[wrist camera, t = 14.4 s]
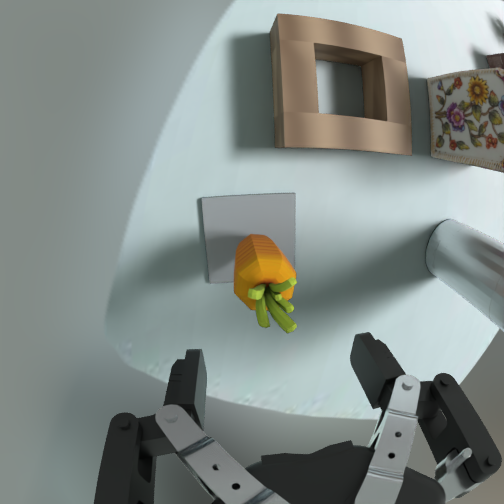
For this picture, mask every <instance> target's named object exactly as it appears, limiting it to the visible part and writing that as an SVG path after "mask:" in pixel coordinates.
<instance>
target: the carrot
mask: <svg viewBox="0 0 504 504" xmlns="http://www.w3.org/2000/svg"><path fill="white" fill-rule="evenodd" d="M296 283H297V281H296V272H295V270H294V268H293V267H292V265H291V264H290V262H289V261H288V259H287V258H286V257H285V255H284V254H283V253H282V251H281V250H280V249H279V248H278V247H277V245H276V244H275V243H274V242H273V240H271V239H270V238H269V237H267V236H265V235H258V234H250V235H248V236H247V237H246V238H245V239H243V240H242V241H241V242H240V243H239V245H238V247H237V249H236V255H235V265H234V293H235V294H236V295H237V296H238V297H239V298H240V299H241V300H242V301H243V302H244V303H245V304H246V305H247V306H248V307H249V308H250V309H251V310H256V315H257V320H258V323H259V325H260V326H261V327H265V328H267V327H270V324H269V319H268V315H267V311H269V312H270V314H271V316H272V317H273V319H274V320H275V321H276V322H277V323H278V325H279V326H280V327H281V328H282V329H283V330H284V331H285V332H286V333H290V332H292V331H294V330H295V329H296V327H297V325H296V323H295V322H294V321H293V320H292V319H291V318H290V317H289V316H288V315H287V314H286V313H291V312H292V311H293V310H294V307H293V305H292V304H291V303H289V302H288V300H289V299H291V298H292V295H293V290H294V285H295V284H296ZM280 308H282V309H283V310H284V311H285V312H286V313H285V312H284V311H283V310H282V309H280Z"/></svg>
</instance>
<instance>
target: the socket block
mask: <svg viewBox="0 0 504 504" xmlns="http://www.w3.org/2000/svg"><path fill="white" fill-rule="evenodd" d="M270 46H271V62H272V81H273V103H274V128H275V148H326V149H345V150H359V151H371V152H381V153H391V154H401V155H410V156H412V127H411V106H410V93H409V83H408V74H407V67H406V60H405V53H404V47H403V42H402V39H401V38H398V37H395V36H392V35H389V34H386V33H383V32H379V31H376V30H372V29H369V28H365V27H361V26H357V25H352V24H348V23H343V22H338V21H333V20H328V19H322V18H315V17H308V16H299V15H290V14H277V16H276V18H275V21H274V23H273V26H272V28H271V31H270ZM315 59H317V60H325V61H332V62H339V63H345V64H350V65H356V66H361V72H362V83H363V96H364V114H365V118H360V117H352V116H343V115H333V114H320V113H319V110H318V91H317V76H316V63H315Z"/></svg>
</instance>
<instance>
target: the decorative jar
mask: <svg viewBox="0 0 504 504" xmlns="http://www.w3.org/2000/svg"><path fill="white" fill-rule="evenodd" d="M427 85H428V94H429V107H430V128H431V156H432V157H434V158H439V159H443V160H448V161H453V162H458V163H464V164H468V165H472V166H477V167H481V168H485V169H490V170H494V171H499V172H503V173H504V70H503V69H502V68H500V67H499V68H490V69H476V70H469V71H461V72H455V73H449V74H444V75H440V76H436V77H431V78H428V79H427Z"/></svg>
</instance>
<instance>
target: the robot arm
mask: <svg viewBox="0 0 504 504" xmlns="http://www.w3.org/2000/svg"><path fill="white" fill-rule="evenodd" d="M426 264H427V267H428V269H429V271H430V272H431V273H432V274H433V275H435V276H436V277H437V278H439V279H440V280H441V281H443V282H444V283H445V284H446V285H448V286H449V287H450V288H452V289H453V290H454V291H456V292H457V293H458V294H459V295H461V296H462V297H463V298H464V299H466V300H467V301H468V302H469V303H471V304H472V305H473V306H474V307H476V308H477V309H478V310H479V311H480V312H482V313H483V314H484V315H485V316H486V317H487V318H489V319H490V320H491V321H492V322H493V323H495V324H496V325H497V326H498V327H499V328H500V329H501V330H502V331H504V243H502V242H500V241H498V240H496V239H494V238H492V237H490V236H488V235H486V234H484V233H482V232H480V231H478V230H475V229H473V228H471V227H469V226H467V225H465V224H463V223H460V222H458V221H456V220H452V219H449V220H446V221H444V222H442V223H441V224H440V225H439V226H438V227H437V228H436V229H435V231H434V232H433V234H432V236H431V237H430V240H429V242H428V246H427V250H426ZM350 361H351V365H352V368H353V370H354V372H355V374H356V376H357V378H358V380H359V382H360V384H361V386H362V388H363V390H364V392H365V394H366V396H367V398H368V400H369V402H370V404H371V406H372V408H373V409H375V408H379V407H380V408H381V410H382V411H381V413H380V416H379V419H378V422H377V425H376V427H375V430H374V433H373V435H372V438H371V440H370V442H369V445H368V446H367V447H365V446H356V445H353V444H352V441H351V440H350V441H346V442H342V443H338V444H333V445H330V446H327V447H325V448H323V449H321V450H319V451H316V452H314V453H312V454H288V453H282V454H273V455H264V456H261V461H260V462H256V463H254V464H252V465H250V466H248V467H246V468H245V469H244V468H243V467H242V466H241V465H240V464H239V463H238V462H237V461H236V460H235V459H233V458H232V457H231V456H230V455H229V454H228V453H227V452H226V451H225V450H224V449H223V448H222V447H221V446H220V445H219V444H218V443H217V442H216V441H215V440H214V439H213V438H211V437H210V438H209V437H208V436H206V435H205V433H204V432H203V431H204V415H205V400H206V386H207V373H206V367H205V362H204V357H203V353H202V350H201V349H189V350H187V351H186V356H185V359H177V361H176V362H175V363H174V364H173V366H172V368H171V373H170V377H169V382H168V387H167V391H166V396H165V401H164V405H163V407H161V408H160V409H159V410H158V411H157V413H156V414H154V415H151V416H147V417H142V418H136V417H135V416H134V415H133V414H131V413H119V414H117V415H116V416H114V417H113V418H112V420H111V422H110V426H109V430H108V434H107V438H106V442H105V446H104V451H103V456H102V461H101V466H100V471H99V476H98V481H97V487H96V493H95V500H94V504H154V487H155V471H156V458H157V456H159V455H165V454H170V453H175V454H176V455H177V456H178V457H179V459H180V460H181V461H182V462H183V464H184V465H185V466H186V467H187V469H188V470H189V471H190V472H191V473H192V475H193V476H194V477H195V478H196V479H197V481H198V482H199V483H200V484H201V486H202V487H203V488H204V489H205V490H206V491H207V492H208V493H209V494H210V495H211V497H212V498H213V499H214V502H212V503H211V504H445V503H446V502H448V501H449V500H451V499H453V498H460V497H462V496H464V495H465V494H467V493H468V492H470V491H471V490H473V489H474V488H475V487H477V486H478V485H479V484H481V483H482V482H484V481H485V480H486V479H488V478H489V477H490V476H491V475H493V474H494V473H495V472H496V471H497V470H498V469H499V468H500V466H501V462H502V458H501V455H500V453H499V451H498V449H497V447H496V445H495V443H494V442H493V440H492V438H491V436H490V435H489V433H488V431H487V429H486V427H485V426H484V424H483V422H482V421H481V419H480V417H479V416H478V414H477V413H476V411H475V410H474V408H473V406H472V405H471V403H470V402H469V400H468V398H467V397H466V395H465V394H464V392H463V391H462V389H461V388H460V386H459V385H458V383H457V382H456V380H455V379H454V378H453V377H452V376H451V375H449V374H446V373H440V374H438V375H436V376H435V378H434V380H433V381H422V382H420V381H419V380H418V379H417V378H416V377H414V376H412V375H406V374H405V372H404V371H403V369H402V368H401V366H400V365H399V363H398V362H397V360H396V359H395V357H393V354H392V353H391V352H390V350H389V349H388V347H387V346H386V344H384V343H383V342H381V341H380V340H379V339H378V340H375V339H374V338H373V336H372V335H371V333H370V332H367V333H361V334H356V335H355V338H354V342H353V346H352V351H351V355H350ZM441 410H442V411H441ZM442 412H443V414H444V415H445V417H446V419H447V420H446V419H445V417H444V415H443V414H442ZM417 421H418V423H419V425H420V427H421V429H422V431H423V433H424V436H425V438H426V440H427V442H428V444H429V446H430V449H431V451H432V453H433V455H434V458H435V460H436V462H437V467H436V470H435V477H434V478H435V480H434V479H432V478H430V477H427V476H425V475H423V474H421V473H419V472H417V471H415V470H413V469H411V468H408V467H406V464H407V460H408V457H409V453H410V450H411V446H412V442H413V438H414V434H415V430H416V425H417Z"/></svg>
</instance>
